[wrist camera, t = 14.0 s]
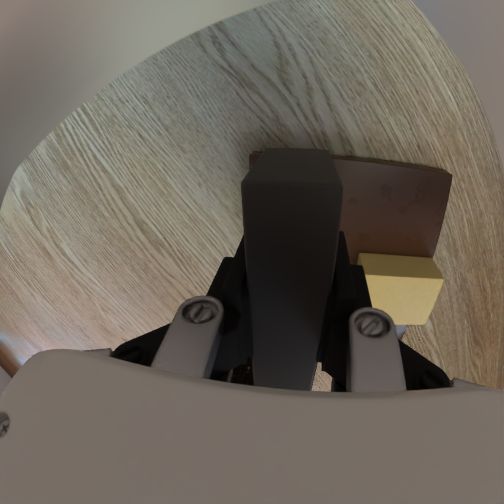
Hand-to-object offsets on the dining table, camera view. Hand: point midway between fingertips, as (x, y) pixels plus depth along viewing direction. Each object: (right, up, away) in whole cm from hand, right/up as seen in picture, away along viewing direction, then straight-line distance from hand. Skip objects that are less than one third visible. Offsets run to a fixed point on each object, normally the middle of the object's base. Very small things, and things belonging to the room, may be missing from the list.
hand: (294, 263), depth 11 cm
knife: (0, -4, +3) cm, 5 cm away
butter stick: (+11, -2, +12) cm, 16 cm away
